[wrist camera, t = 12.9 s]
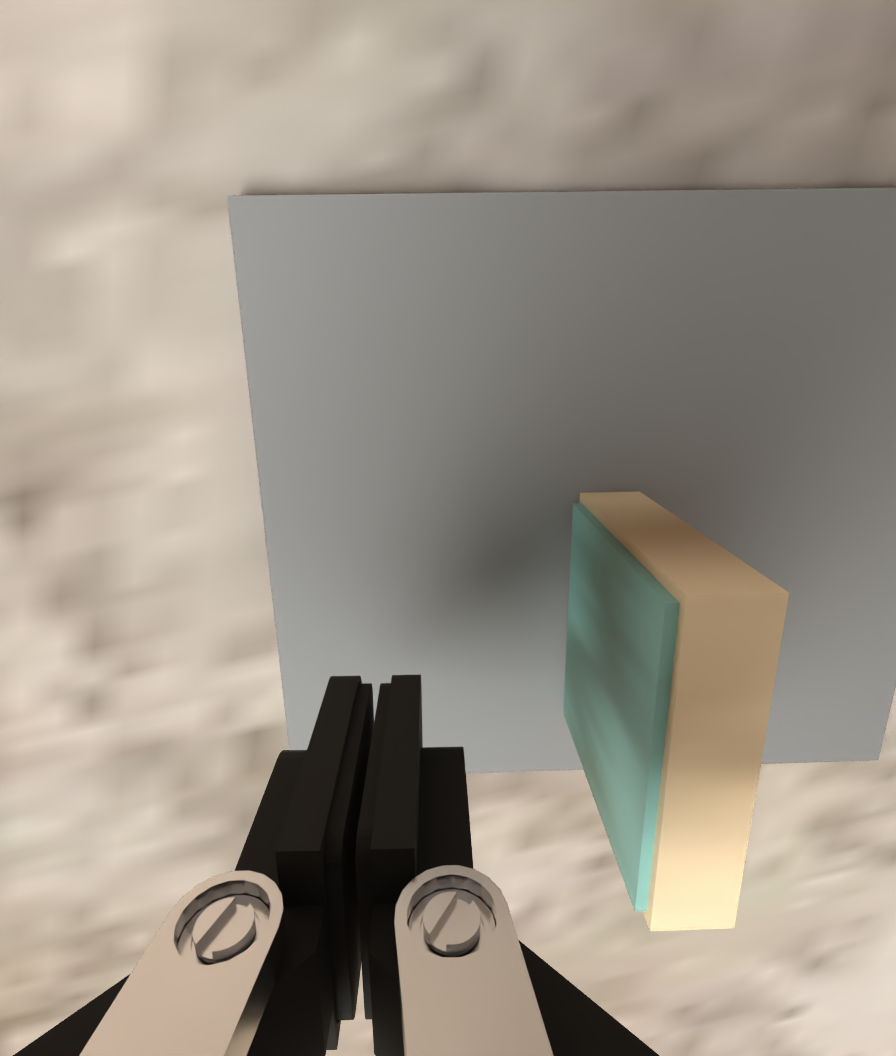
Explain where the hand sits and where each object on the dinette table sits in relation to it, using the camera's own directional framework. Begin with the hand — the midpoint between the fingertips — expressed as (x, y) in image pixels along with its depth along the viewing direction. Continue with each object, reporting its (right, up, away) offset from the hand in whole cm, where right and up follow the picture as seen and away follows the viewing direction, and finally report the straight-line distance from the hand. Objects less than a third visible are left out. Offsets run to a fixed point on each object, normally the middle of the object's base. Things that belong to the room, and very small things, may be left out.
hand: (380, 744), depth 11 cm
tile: (+5, -2, +2) cm, 6 cm away
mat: (+5, +4, +4) cm, 8 cm away
